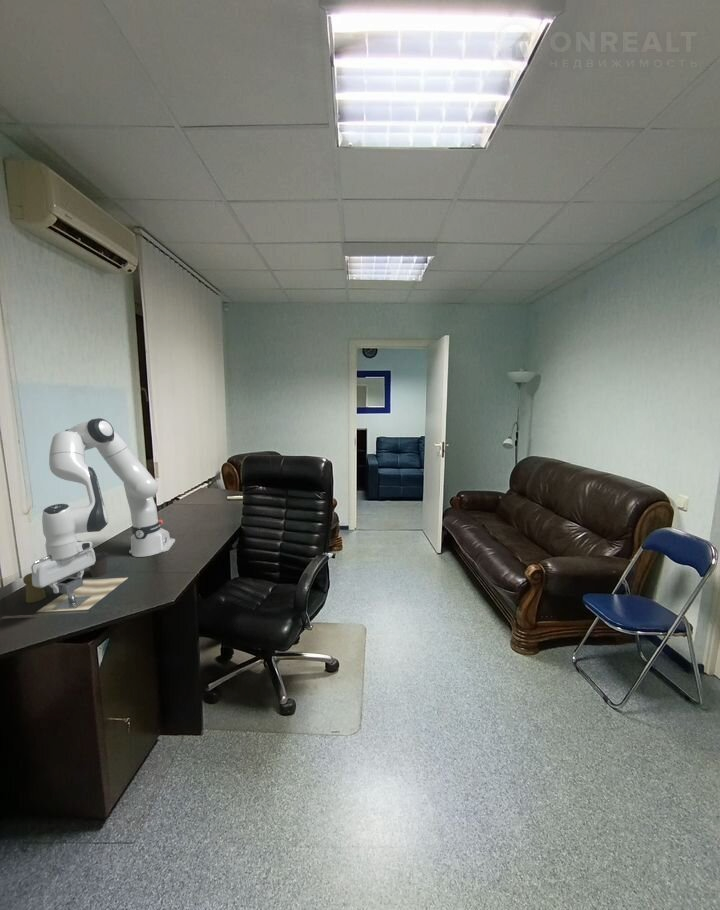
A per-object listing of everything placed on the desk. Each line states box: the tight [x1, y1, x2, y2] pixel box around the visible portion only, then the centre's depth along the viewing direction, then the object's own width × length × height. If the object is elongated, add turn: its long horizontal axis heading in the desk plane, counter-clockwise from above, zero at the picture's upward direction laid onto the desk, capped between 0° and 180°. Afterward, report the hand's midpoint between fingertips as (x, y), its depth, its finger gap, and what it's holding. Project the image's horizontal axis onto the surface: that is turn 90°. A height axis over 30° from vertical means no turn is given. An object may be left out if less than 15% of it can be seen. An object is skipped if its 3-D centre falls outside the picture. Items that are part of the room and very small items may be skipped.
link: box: [56, 576, 84, 594], centre depth 134 cm, size 6×6×3 cm
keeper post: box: [53, 590, 91, 610], centre depth 135 cm, size 8×8×6 cm
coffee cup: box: [88, 551, 109, 578], centre depth 159 cm, size 8×8×10 cm
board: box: [35, 577, 128, 616], centre depth 143 cm, size 24×18×1 cm
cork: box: [23, 572, 47, 604], centre depth 140 cm, size 6×6×11 cm
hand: (68, 587), depth 135 cm, fingers closed on link, 6 cm apart
